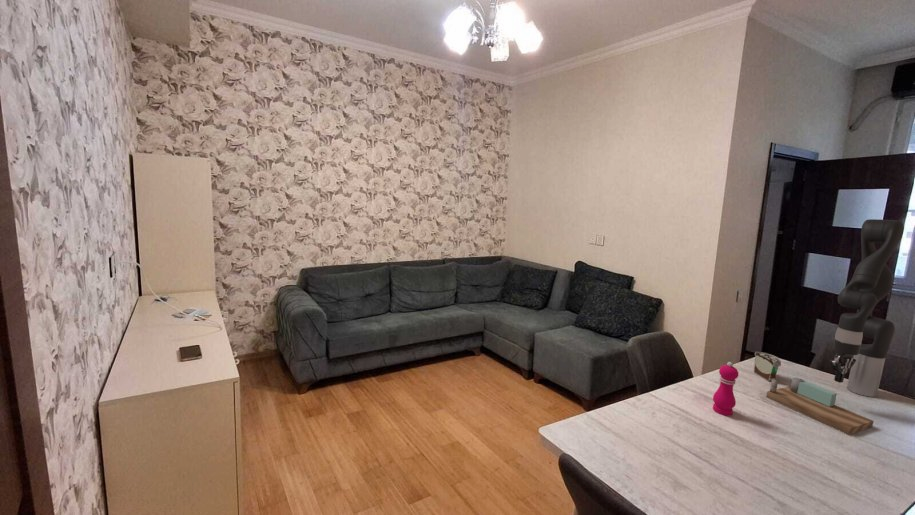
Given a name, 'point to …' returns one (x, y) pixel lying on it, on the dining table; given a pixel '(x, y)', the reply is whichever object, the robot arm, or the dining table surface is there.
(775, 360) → the food container
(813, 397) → the hinged leg
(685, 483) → the dining table surface
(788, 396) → the board
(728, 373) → the pepper mill
